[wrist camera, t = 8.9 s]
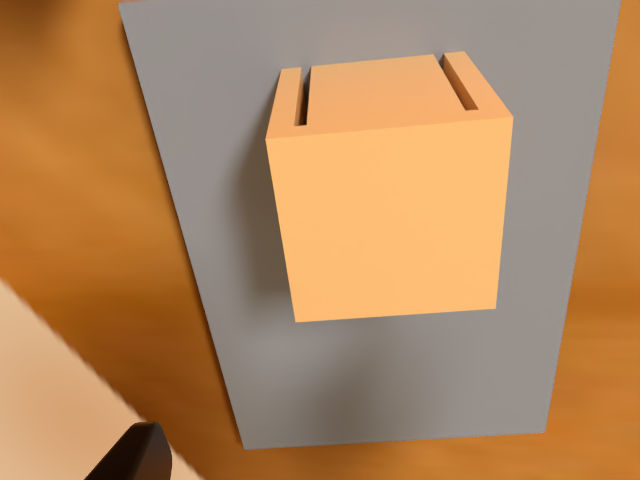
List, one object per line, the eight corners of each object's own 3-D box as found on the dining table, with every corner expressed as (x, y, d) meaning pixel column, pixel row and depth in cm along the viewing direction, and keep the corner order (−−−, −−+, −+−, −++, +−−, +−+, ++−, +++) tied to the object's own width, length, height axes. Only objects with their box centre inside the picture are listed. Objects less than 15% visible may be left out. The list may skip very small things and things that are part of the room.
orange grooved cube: (458, 210, 19) (495, 308, 15) (302, 222, 20) (295, 322, 15) (464, 51, 16) (513, 117, 12) (281, 69, 17) (265, 139, 12)
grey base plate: (537, 411, 27) (573, 506, 23) (247, 429, 28) (233, 523, 24) (611, -59, 16) (707, -35, 12) (130, -5, 17) (68, 36, 13)
